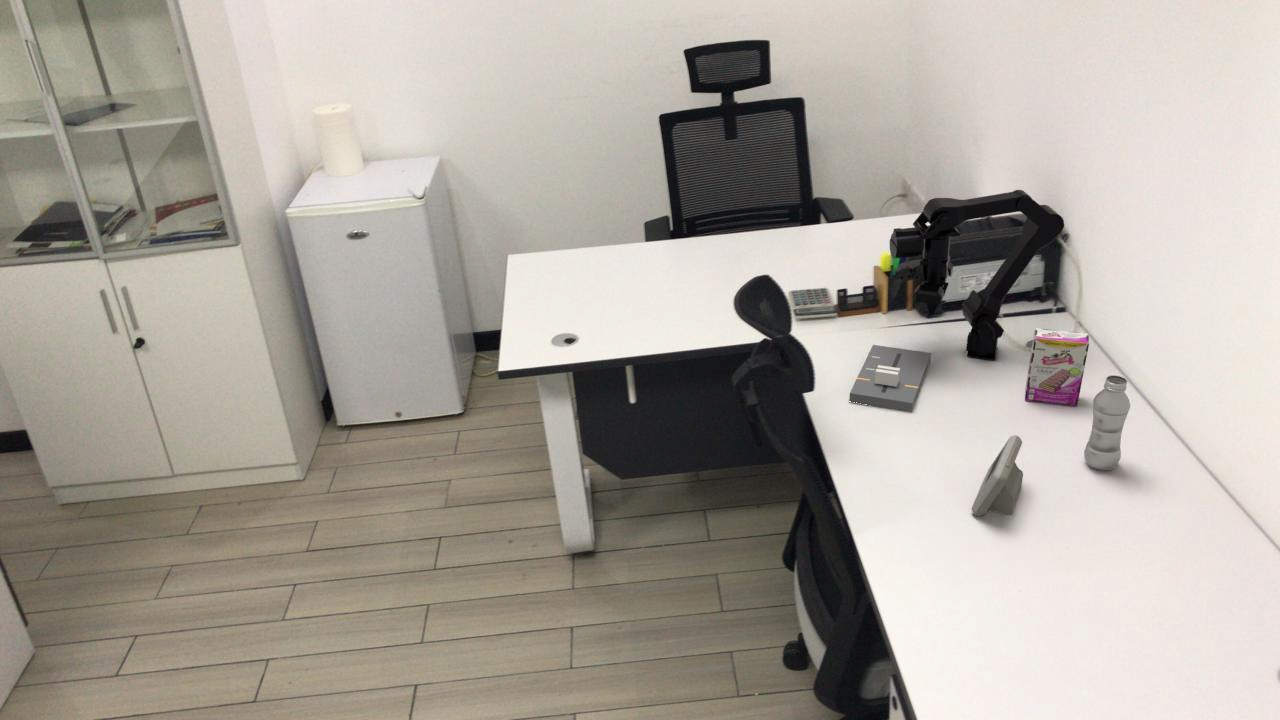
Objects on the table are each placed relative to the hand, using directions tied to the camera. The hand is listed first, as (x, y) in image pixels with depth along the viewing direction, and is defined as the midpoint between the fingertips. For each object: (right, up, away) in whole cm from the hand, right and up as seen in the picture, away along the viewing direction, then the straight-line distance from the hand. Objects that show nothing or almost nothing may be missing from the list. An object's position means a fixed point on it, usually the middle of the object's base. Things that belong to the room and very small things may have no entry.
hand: (931, 314), depth 238 cm
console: (-10, -16, -3) cm, 19 cm away
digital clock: (0, -38, -43) cm, 57 cm away
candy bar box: (+23, -20, -14) cm, 33 cm away
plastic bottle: (+24, -32, -36) cm, 54 cm away
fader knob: (-13, -16, -8) cm, 22 cm away
